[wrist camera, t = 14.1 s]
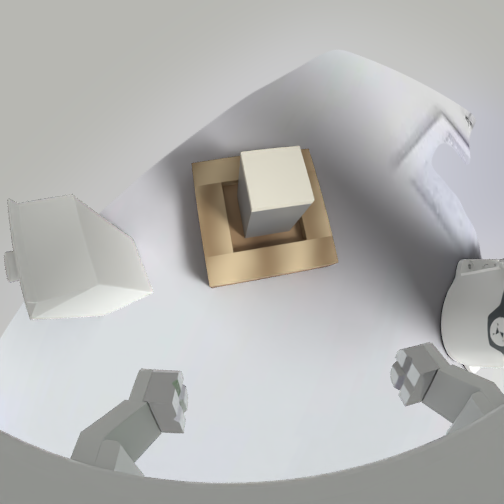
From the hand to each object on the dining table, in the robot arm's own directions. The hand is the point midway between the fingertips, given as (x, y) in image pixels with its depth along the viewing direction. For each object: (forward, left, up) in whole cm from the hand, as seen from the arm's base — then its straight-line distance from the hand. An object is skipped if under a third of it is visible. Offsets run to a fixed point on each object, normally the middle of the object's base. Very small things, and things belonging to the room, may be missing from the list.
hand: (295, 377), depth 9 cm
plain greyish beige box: (-4, -12, -20) cm, 24 cm away
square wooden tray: (-3, -12, -22) cm, 26 cm away
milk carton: (+15, -8, -23) cm, 28 cm away
